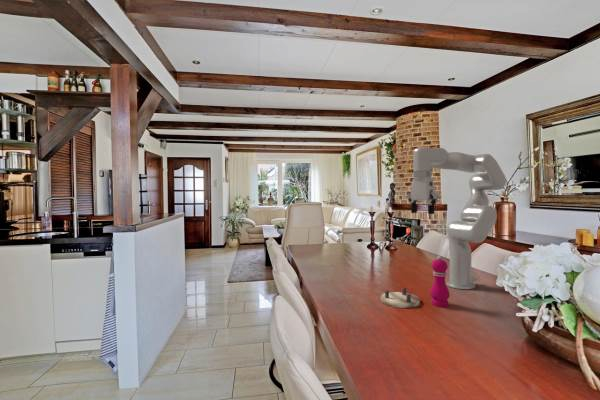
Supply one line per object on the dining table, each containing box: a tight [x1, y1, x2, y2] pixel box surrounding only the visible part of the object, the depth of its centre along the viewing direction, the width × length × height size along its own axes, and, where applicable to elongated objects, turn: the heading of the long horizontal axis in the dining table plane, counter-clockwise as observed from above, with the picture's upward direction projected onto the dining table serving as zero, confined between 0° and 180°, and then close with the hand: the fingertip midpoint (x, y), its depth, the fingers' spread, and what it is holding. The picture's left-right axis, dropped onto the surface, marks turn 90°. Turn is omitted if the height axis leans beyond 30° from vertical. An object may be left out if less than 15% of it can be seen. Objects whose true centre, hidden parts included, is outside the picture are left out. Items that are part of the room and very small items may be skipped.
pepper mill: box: [429, 255, 451, 308], centre depth 130 cm, size 7×7×20 cm
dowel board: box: [379, 286, 421, 309], centre depth 135 cm, size 16×16×4 cm
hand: (422, 213), depth 145 cm, fingers open, 9 cm apart
